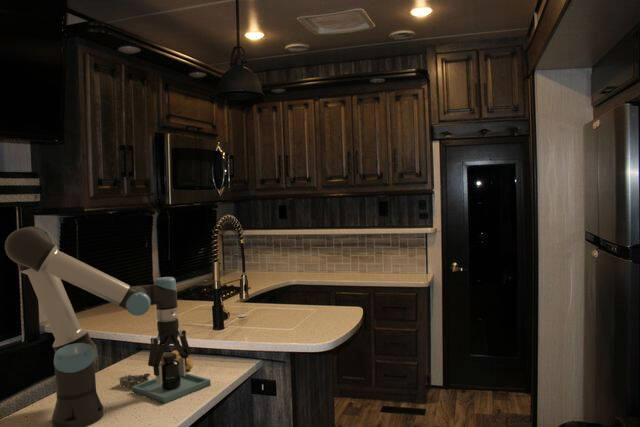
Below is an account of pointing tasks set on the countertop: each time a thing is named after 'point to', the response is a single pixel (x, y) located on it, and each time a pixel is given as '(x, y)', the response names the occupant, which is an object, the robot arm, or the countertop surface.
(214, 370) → the countertop surface
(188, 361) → the croissant
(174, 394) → the tray
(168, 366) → the supplement bottle
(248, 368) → the countertop surface
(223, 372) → the countertop surface
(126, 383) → the egg carton
